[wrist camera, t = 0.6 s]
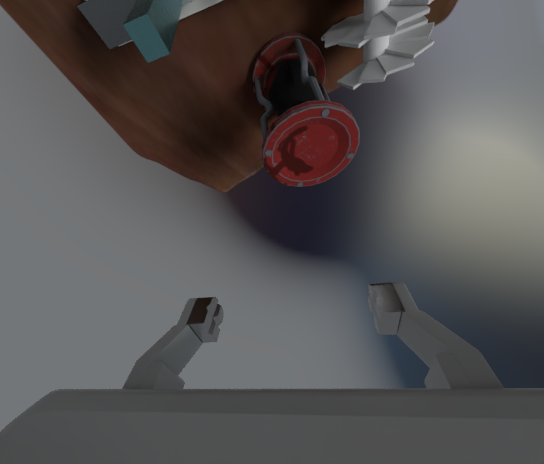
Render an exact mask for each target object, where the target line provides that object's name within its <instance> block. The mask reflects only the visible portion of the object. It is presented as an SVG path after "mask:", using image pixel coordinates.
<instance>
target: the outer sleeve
mask: <svg viewBox="0 0 544 464" xmlns="http://www.w3.org/2000/svg"><path fill="white" fill-rule="evenodd" d="M136 1H137V0H82V1H81V2H80V3H79V4H78V5H77V7H78V8H79V10H80V11H81V12H82V14H83V15H84V16H85V18H86V19H87V20H88V21H89V23H90V24H91V25H92V27H93V28H94V29H95V31H96V32H97V33H98V35H99V36H100V37H101V39H102V40H103V41H104V43H105V44H106V45H107V46H108V48H109V49H112V48H114V47H116V46H119V45H121V44H123V43H125V42H128V41H130V40H132V38H131V37H130V35H129V34H128V32H127V31H126V29H125V28H124V26H123V23H124V22H125V20H126V18H127V17H128V15H129V13H130V11H131V10H132V8H133V6H134V4H135V3H136Z"/></svg>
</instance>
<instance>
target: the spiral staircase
mask: <svg viewBox="0 0 544 464" xmlns="http://www.w3.org/2000/svg"><path fill="white" fill-rule="evenodd" d="M432 1H433V0H364V13H362V14H359V15H356V16H349V17H348V18H346V19H344V20H343V21H341V22H339V23H337V24H336V25H333V26H332V27H331V28H330V29H329V30H328V31H327V32H326V33H325V34H324V35H323V36H322V37H321V41H325V48H327V47H330V46H333V45H336V44H338V45H339V46H346V47H353V48H360V47H361V46H362V45H363V63H362V64H361V65H360V66H358V67H357V68H355V69H354V70H353V71H351V72H350V73H348V74H347V75H345V76H344V77H343V78H341V79H340V80H338V81H337V84H339V85H341V86H344V87H347V88H349V89H352V90H353V89H355V88H357V87H358V86H359V85H361V84H362V83H371V82H372V83H373V82H384V80H385V78H386V76H387V75H388V74H391V73H394V72H397V71H400V70H403V69H405V68H408V67H411V66H414V61H413V60H412V58H415V57H416V56H418V55H419V54H420V53H422V52H423V51H425V50H426V49H427V48H429V47H430V46H432V45H433V44H434V40H428V39H429V36H430V34H431V32H432V29H433V27H434V23H435V22H433V23H427V22H428V19H427V18H426V17H424V16H423V15H425V14H428V13H429V12H430V8H429V7H428V6H426V5H428V4H430V3H431V2H432Z"/></svg>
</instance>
